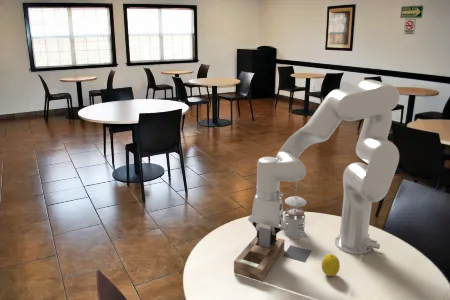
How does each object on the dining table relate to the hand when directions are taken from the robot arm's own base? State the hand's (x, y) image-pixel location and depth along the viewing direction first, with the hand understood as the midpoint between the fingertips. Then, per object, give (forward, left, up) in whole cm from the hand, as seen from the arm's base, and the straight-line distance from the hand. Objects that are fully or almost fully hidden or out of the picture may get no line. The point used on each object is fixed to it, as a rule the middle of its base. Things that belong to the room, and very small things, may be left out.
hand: (266, 240), depth 133 cm
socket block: (0, +5, -5) cm, 7 cm away
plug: (0, 0, -4) cm, 4 cm away
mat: (-10, -5, -5) cm, 12 cm away
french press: (-4, -19, -5) cm, 20 cm away
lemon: (-23, +2, -5) cm, 24 cm away
